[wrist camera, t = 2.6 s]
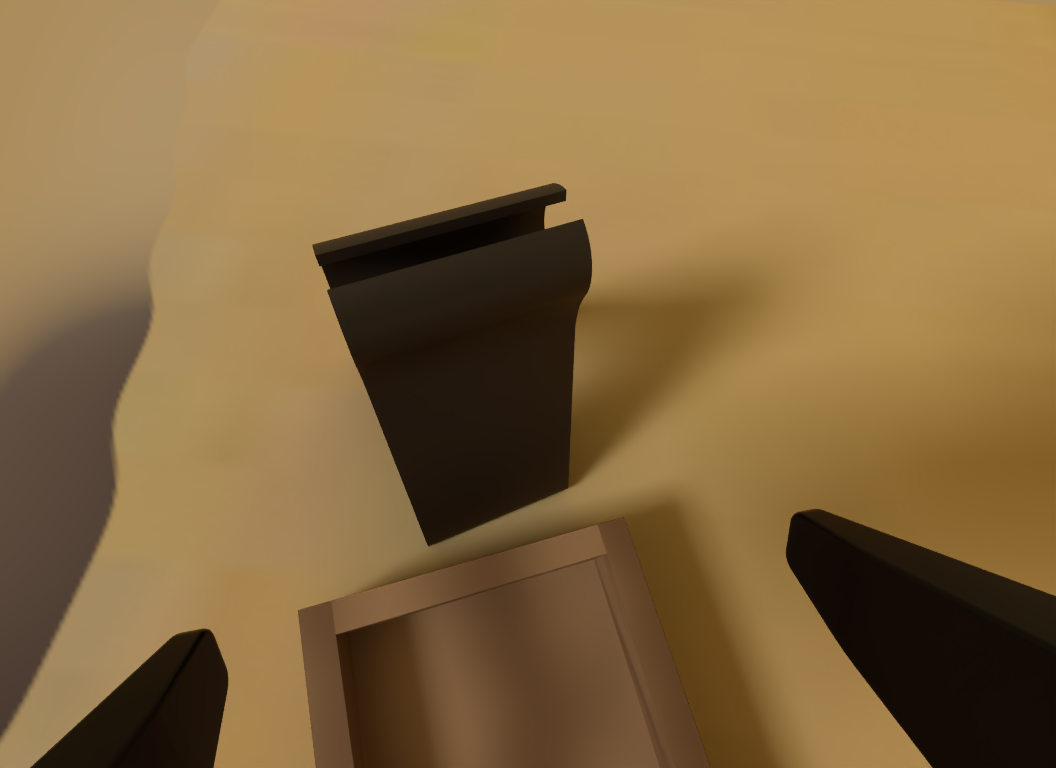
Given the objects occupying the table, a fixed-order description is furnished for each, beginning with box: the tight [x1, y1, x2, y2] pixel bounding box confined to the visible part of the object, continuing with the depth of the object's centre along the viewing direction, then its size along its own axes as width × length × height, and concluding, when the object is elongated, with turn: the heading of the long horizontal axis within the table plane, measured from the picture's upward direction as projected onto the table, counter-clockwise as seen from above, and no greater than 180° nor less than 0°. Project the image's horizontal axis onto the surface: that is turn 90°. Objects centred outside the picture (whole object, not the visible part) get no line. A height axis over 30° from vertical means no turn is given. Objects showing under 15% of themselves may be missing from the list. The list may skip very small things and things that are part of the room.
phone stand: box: [313, 183, 592, 546], centre depth 17 cm, size 9×6×12 cm, turn 23°
